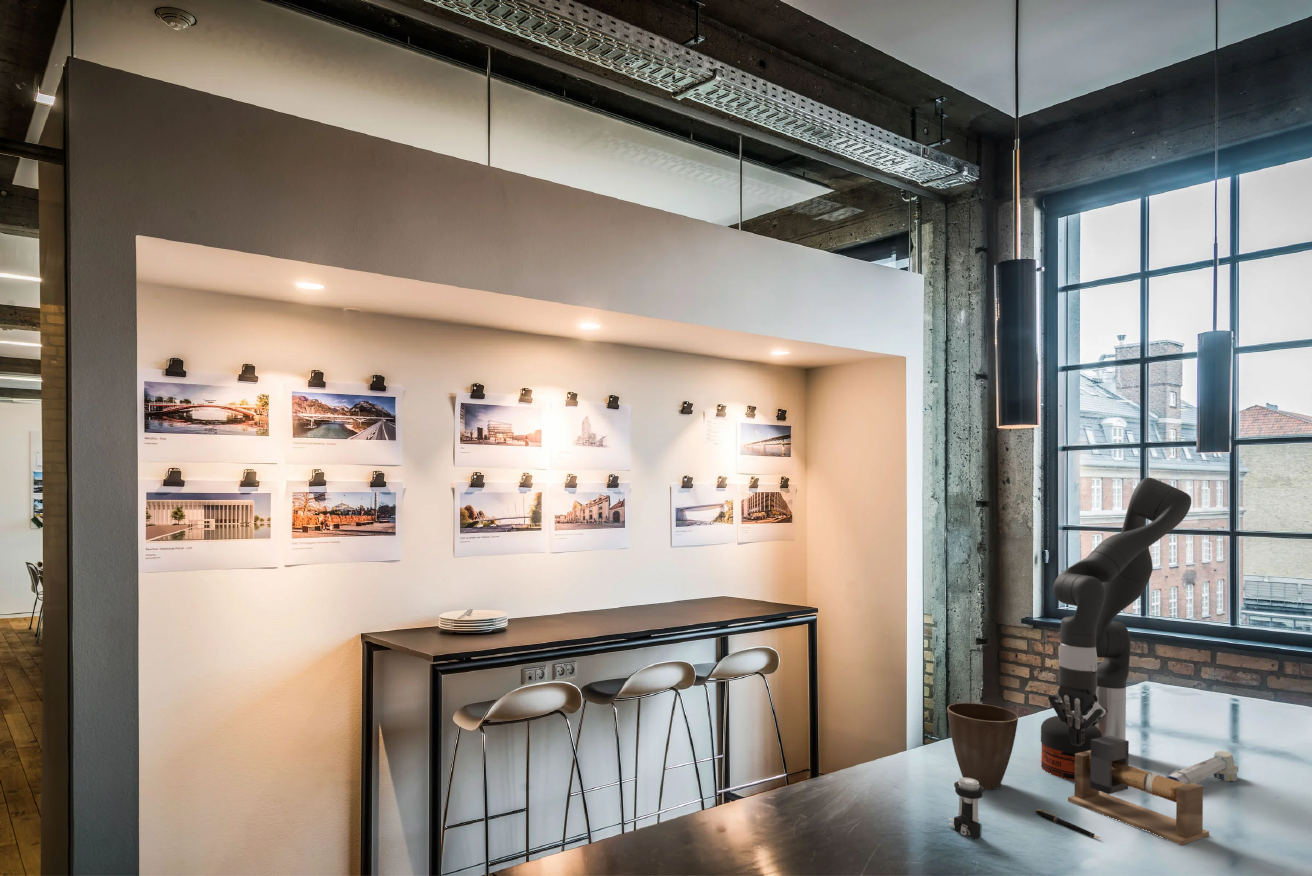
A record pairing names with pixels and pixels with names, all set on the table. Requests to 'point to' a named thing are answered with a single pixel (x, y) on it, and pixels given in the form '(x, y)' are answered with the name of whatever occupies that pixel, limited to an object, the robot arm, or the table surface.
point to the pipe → (1142, 780)
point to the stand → (1175, 830)
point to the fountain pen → (1064, 823)
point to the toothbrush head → (1208, 769)
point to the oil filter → (1062, 747)
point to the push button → (968, 807)
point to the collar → (1107, 763)
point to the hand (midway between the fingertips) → (1076, 744)
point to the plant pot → (982, 740)
